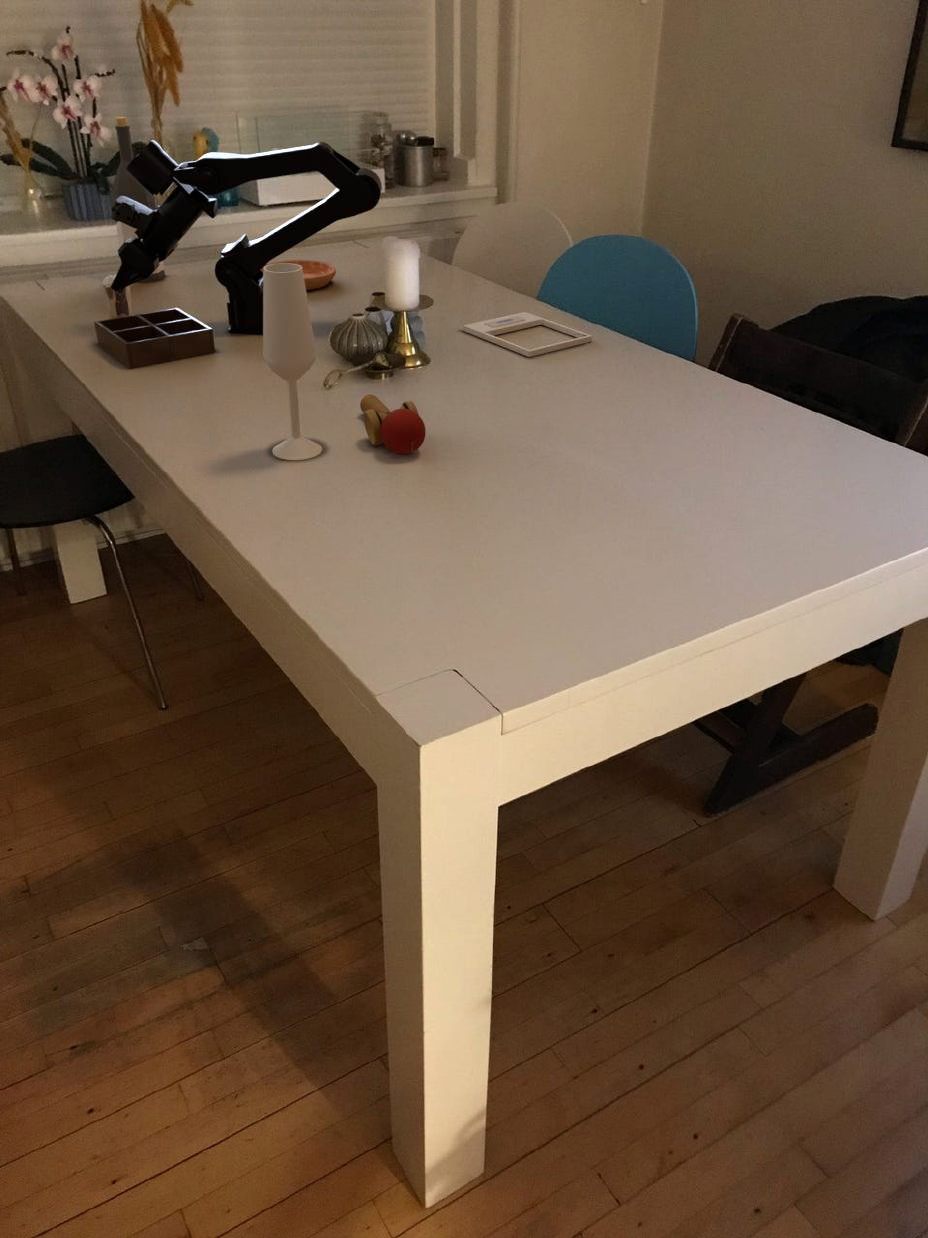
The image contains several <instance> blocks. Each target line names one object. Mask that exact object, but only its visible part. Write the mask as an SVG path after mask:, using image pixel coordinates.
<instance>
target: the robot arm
mask: <svg viewBox="0 0 928 1238" xmlns="http://www.w3.org/2000/svg"><path fill="white" fill-rule="evenodd" d="M133 157H134V158H133V160H132V161H131V162H130V164H129V165H128V166H127V168H126V170H125V171H126V172H127V173H129V174H130V175H131V176H132V177H133V178H134V179H135V180H136V181H137V182H138V183H139V184H140V185H141V186H142V187H144V188H145V189H146V190H147V191H148V192H149V193H150V194H151V195H152V196H153V197H154V196H158V195H159V196H161V197H163V196H164V195H166V193H167V192H168V191H169V190H170V188H171V187H172V186H173V185H174V184H175V185H176V186H175V187H174V188H173V190H172V191H171V192H170V193H169V195H168V196H167V197H166V198H165V199H164V201H163V202H162V203H161V204H160V205H158V206H157V207H156V209H155V210H151V209H150V208H148V207H146V206H145V205H142V204H140V203H138V202H136V201H134V200H132V199H130V198H128V197H125V196H120V197H119V198H117V199H116V200H115V204H114V207H113V206H112V207H111V215H110V218H111V220H112V221H114V222H116V221H117V222H118V221H120V222H122V223H124V224H126V225H128V226H130V227H132V228H135V229H137V230H136V231H135V232H134V233H135V234H136V235H137V236H138V238H129V239H128V240H126V241H125V242H124V243H123V244H122V246H121V247H120V246H119V248H118V249H117V250H116V251H117V255H118V257H119V259H120V266H119V268H118V270H117V272H116V274H115V275H116V277H115V279H114V281H113V283H112V285H111V288H112V289H113V290H114V291H118V290H120V289H123V288H125V287H127V286H129V285H130V286H131V285H134V284H136V283H140V282H139V281H141V280H144V279H147V278H149V277H150V276H151V274H152V273H153V272H154V271H155V270H156V269H157V268H158V266H159V263H160V262H161V261H163V262H164V261H165V260H166V259H168V257H170V256H171V255H172V253H173V252H174V251H175V250H176V249H177V248H178V246H179V242H180V240H182V238H183V237H184V236H185V235H186V234H187V233H188V232H189V230H190V229H191V228H192V227H193V225H194V224H195V223H196V222H197V221H198V220H199V218H200V217H201V216H202V215H203V214H204V213H205V214H206V215H207V216H208V217H210V218H211V219H215V218H216V217H217V215H219V210H218V198H209V196H216V195H219V194H221V193H224V192H227V191H229V190H232V189H234V188H237V187H239V186H241V185H244V184H247V183H249V182H253V181H259V180H266V179H272V178H278V177H286V176H292V175H298V174H303V173H312V172H318V173H320V175H322V176H323V177H324V178H325V179H326V180H327V181H329V183H331V184H332V185H333V186H334V187H335V189H334V190H333V191H332V192H331V193H330V194H329V195H328V196H326V198H324V199H322V200H320V201H318V202H317V203H316V204H314V205H312V206H310V207H309V208H308V209H306V210H304V211H302V212H301V213H299V214H297V215H296V216H295V217H293V218H291V219H289V220H287V221H286V222H284V223H283V224H281V225H280V226H279V225H278V227H276V228H274V229H272V230H271V231H269V232H268V233H266V234H265V235H263V236H261V237H259V238H257V239H256V238H255V239H252V240H249V238H248V236H247V233H244V234H243V235H242V236H240V238H239V239H237V240H236V241H234V242H232V243H227V244H226V245H225V247H224V248H223V249H222V250H221V252H220V256H219V258H218V260H217V261H216V263H215V265H214V276H215V277H216V280H217V282H219V284H220V285H221V286H222V287H224V288H225V289H226V292H227V294H228V301H227V302H226V309H227V310H226V311H227V318H228V325H229V326H230V327H229V328H228V332H230V333H241V334H242V333H243V334H244V333H245V334H259V335H263V272H262V271H261V269H262V268H263V267H264V266H265V265H266V264H269V263H270V261H272V260H274V259H275V258H277V257H279V256H281V255H282V254H284V253H285V252H288V251H289V250H290V249H292V248H294V247H296V246H297V245H299V244H301V243H302V242H304V241H305V240H308V239H309V238H310V237H312V236H314V235H316V234H317V233H319V232H320V231H323V230H324V229H326V228H327V227H329V226H331V225H333V224H334V223H336V222H338V221H341V220H345V219H349V218H353V217H356V216H358V215H361V214H363V213H367V212H369V211H372V210H373V209H375V207H377V205H378V204H379V202H380V198H381V193H382V190H383V189H382V188H383V186H382V181H381V178H380V176H379V175H378V174H377V172H375V171H374V170H372V169H370V168H366V167H361V166H359V165H358V164H356V163H355V162H354V161H352V160H350V159H349V158H348V157H346V156H344V155H342V154H341V153H339V152H338V151H336V150H335V149H334V148H333V147H332V146H331V144H329V143H327V142H325V141H318V142H316V143H314V144H308V145H303V146H296V147H291V148H283V149H278V150H270V151H264V152H258V153H252V154H241V153H233V152H216V151H215V152H213V151H212V152H208V153H205V154H203V155H202V156H201V157H200V158H198V159H197V160H195V161H194V160H193V161H184V162H181V163H180V164H178V163H177V162H176V160H174V159H173V158H172V157H171V156H170V155H169V154H167V152H165V150H163V148H162V147H161V145H160V144H159V143H158V142H157V141H156V140H155V139H152V140H151V141H149V142H148V143H147V144H146V146H145V147H144V148H143V149H142V150H141V151H140V152H139V153H138V154H137V155H135V156H133Z"/></svg>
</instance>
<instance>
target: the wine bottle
mask: <svg viewBox="0 0 928 1238" xmlns="http://www.w3.org/2000/svg"><path fill="white" fill-rule="evenodd" d="M114 118H115V126H114V127H115V131H116V132H115V133H116V137H117V143H118V150H119V157H120V162H119V165H118V168H117V171H116V174H115V176H114V181H113V184H112V197H111V198H112V199H111V203H112V207H114V204H115V200H116V199H117V198H119V197H120V196H125V197H128V198H130V199H132V200H134V201H136V202H138V203H140V204H142V205H145V206H146V207H148V208H150V209H151V210H155V209H156V208H157V207H156V201H155V197H154V195H153V196H152V195H151V194H150V193H149V192H148V191H147V190H146V189H145V188H144V187H142V186H141V185H140V184H139V183H138V182H137V181H136V180H135V179H134V178H133V177H132V176H131V175H130V174H129V173H127V172H126V171H125V170H126V168H127V166H128V165H129V164H130V162H131V161H132V160H133V158H134V157H135V156H134V151H133V145H132V137H131V131H130V129H131V128H130V125H129V124H128V123H129V122H128V118H127V117H126V116H117V117H114ZM115 226H116V233H117V239H118V246H119V248H120V247H121V246H122V244H123V243H124V242H125V241H126V240H128V239H129V238H138V236H137V235H136V234H135V233H134V232H135V231H136V230H137V229H135V228H132V227H130V226H128V225H126V224H124V223H122V222H120V221H118V222H117V221H115ZM165 273H166V272H165V265H164V260H163V261H161V262H160V263H159V266H158V268H157V269H156V270H155V271H154V272H153V273H152V274H151V276H150V277H149V278H147V279H144V280H141V281H139V282H138V283H144V284H145V283H150V282H157V281H160V280H162V279H163V278H165V275H166V274H165Z"/></svg>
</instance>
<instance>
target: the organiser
mask: <svg viewBox="0 0 928 1238" xmlns="http://www.w3.org/2000/svg"><path fill="white" fill-rule="evenodd" d="M94 328H95V334H96V339H97V344H98V346H99V347H101V349H103V350H105V351H106V352H107V353H108V354H110V355H111V356H113V357H114V358H115V359H117V360H118V361H119V362H121V363H122V364H123V365H125V366H126V367H127V368H128V369H135V368H141V367H145V366H150V365H157V364H161V363H167V362H172V361H177V360H182V359H187V358H193V357H198V356H199V357H200V356H203V355H208V354H214V353H216V348H215V347H216V345H215V339H214V330H213V328H211V327H210V326H208V325H207V324H205V323H203V322H202V321H200V320H198V319H197V318H195V317H194V316H192V315H190V314H188V313H187V312H185V311H184V310H182V309H180V308H178V307H173V308H167V309H161V310H156V311H149V312H144V313H137V314H132V315H131V316H124V317H118V318H112V317H111V318H107V319H99V320H94Z"/></svg>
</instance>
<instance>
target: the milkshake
mask: <svg viewBox="0 0 928 1238" xmlns="http://www.w3.org/2000/svg"><path fill="white" fill-rule="evenodd" d="M115 277H116V274H109V275H107V276H105V277H104V278H103V281H102V285H103V290H104V292H105V293H104V294H105V297H106V300H107V303H108V308H109V312H110V315H111V319H112V318H118V317H124V316H131V315H133V308H132V295H131V293H132V292H131V285H129V286H127V287H125V288H123V289H120V290H118V291H114V290H113V289H112V288H111V285H112V283H113V281H114V279H115Z"/></svg>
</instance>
